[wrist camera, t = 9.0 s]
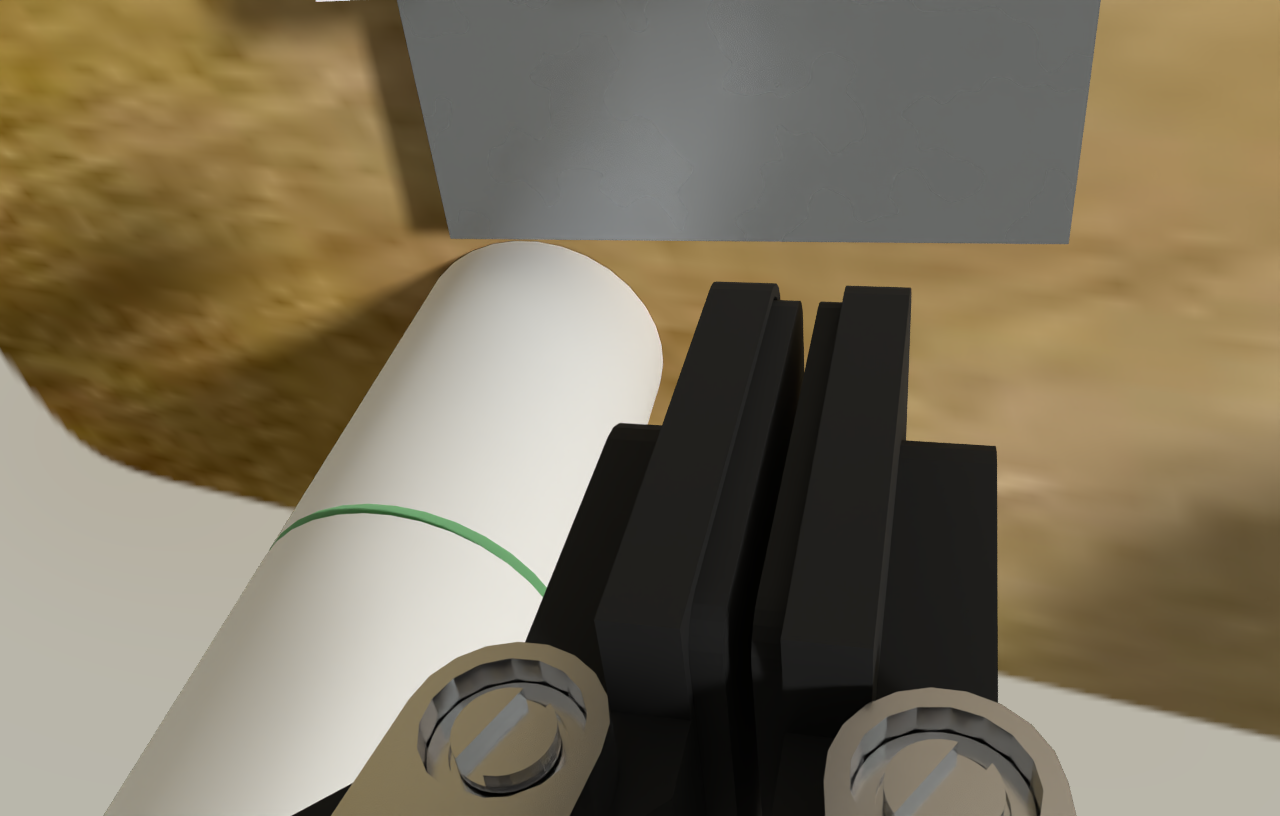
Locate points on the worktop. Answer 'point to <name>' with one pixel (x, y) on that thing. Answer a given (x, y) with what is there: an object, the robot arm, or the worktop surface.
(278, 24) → the worktop surface
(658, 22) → the breaker panel
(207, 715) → the cylindrical container
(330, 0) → the rocker
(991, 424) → the worktop surface
